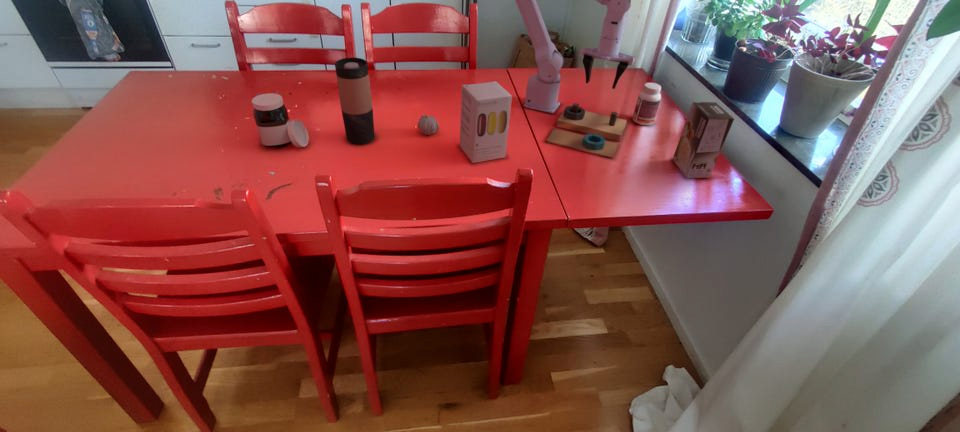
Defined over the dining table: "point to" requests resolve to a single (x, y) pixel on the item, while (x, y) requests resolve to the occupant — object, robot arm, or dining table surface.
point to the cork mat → (579, 143)
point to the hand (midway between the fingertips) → (600, 84)
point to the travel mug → (355, 99)
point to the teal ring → (597, 141)
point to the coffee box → (702, 139)
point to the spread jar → (277, 123)
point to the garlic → (428, 125)
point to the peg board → (595, 124)
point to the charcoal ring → (572, 115)
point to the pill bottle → (647, 104)
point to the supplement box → (484, 121)
